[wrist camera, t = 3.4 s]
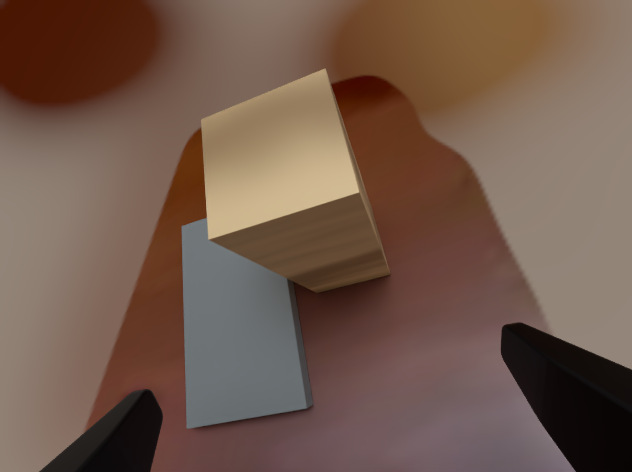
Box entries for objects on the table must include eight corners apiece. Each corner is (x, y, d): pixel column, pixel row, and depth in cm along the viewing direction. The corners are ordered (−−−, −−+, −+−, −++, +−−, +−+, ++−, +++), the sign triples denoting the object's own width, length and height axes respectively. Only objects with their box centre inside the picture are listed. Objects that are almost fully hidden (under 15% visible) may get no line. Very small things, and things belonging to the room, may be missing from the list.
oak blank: (390, 274, 20) (359, 192, 9) (316, 293, 21) (208, 239, 10) (370, 206, 22) (325, 68, 11) (304, 226, 23) (201, 119, 12)
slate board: (313, 404, 19) (306, 408, 18) (198, 423, 20) (186, 428, 19) (280, 202, 24) (273, 195, 23) (191, 231, 26) (181, 226, 24)
